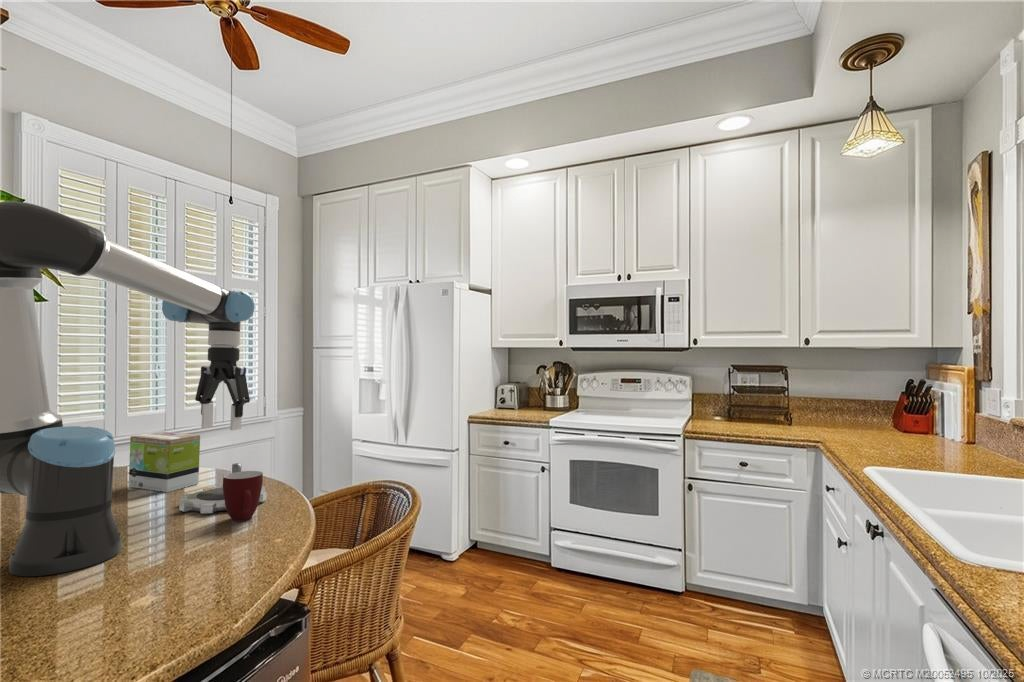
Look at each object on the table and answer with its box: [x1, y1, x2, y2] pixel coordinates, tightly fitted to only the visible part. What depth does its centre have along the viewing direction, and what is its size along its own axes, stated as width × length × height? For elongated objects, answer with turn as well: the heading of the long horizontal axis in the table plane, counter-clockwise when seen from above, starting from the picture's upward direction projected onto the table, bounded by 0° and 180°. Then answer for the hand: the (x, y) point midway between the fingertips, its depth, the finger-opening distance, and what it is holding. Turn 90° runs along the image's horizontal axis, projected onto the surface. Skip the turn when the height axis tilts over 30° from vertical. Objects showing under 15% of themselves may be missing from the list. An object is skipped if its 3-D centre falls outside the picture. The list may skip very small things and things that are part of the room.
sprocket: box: [178, 462, 268, 514], centre depth 123 cm, size 19×19×8 cm
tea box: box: [128, 431, 201, 493], centre depth 139 cm, size 15×10×15 cm
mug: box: [222, 470, 264, 522], centre depth 111 cm, size 10×8×10 cm
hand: (221, 428), depth 133 cm, fingers open, 10 cm apart
